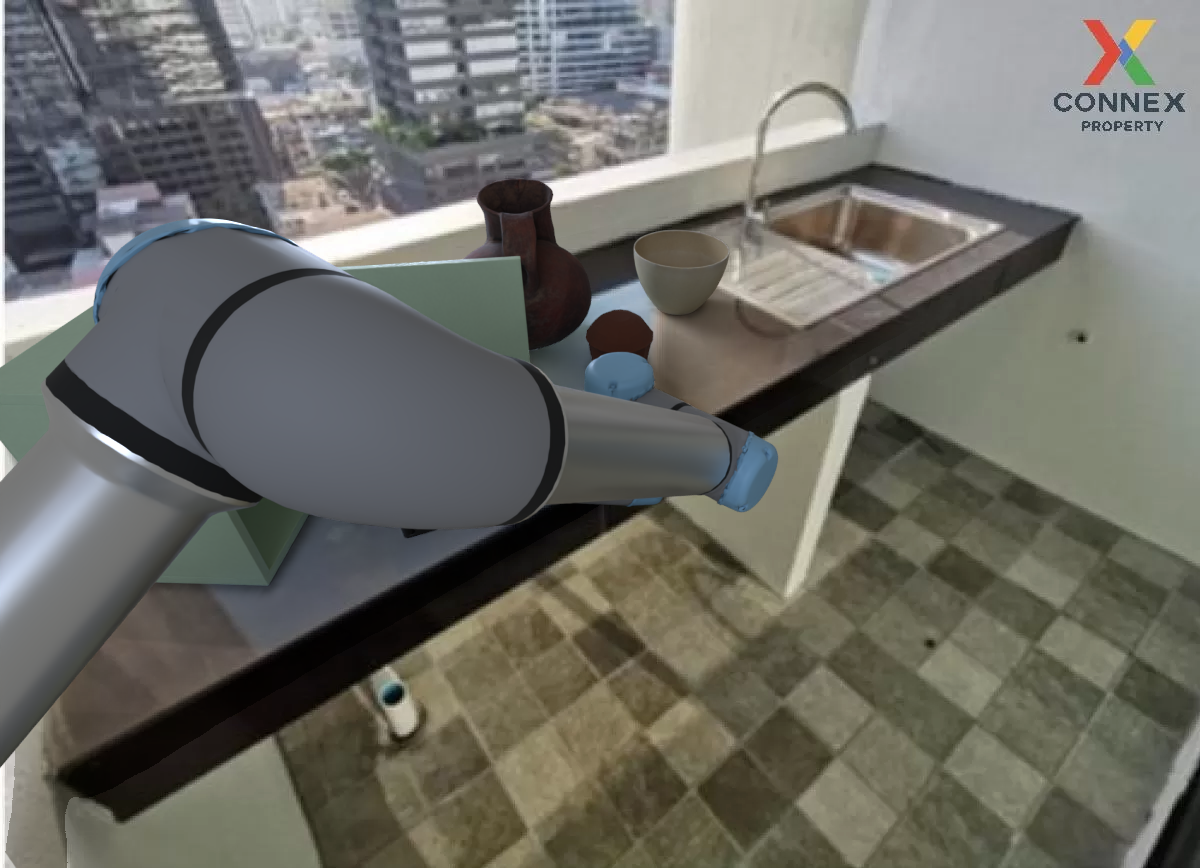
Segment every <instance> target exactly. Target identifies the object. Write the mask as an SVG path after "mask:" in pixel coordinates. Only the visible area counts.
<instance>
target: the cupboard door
mask: <svg viewBox="0 0 1200 868" xmlns="http://www.w3.org/2000/svg"><path fill="white" fill-rule="evenodd" d="M337 267H338V268H339V269H341V270H343V271H345V272H346V273H348V274H350V275H352V276H354V277H355V278H357V279H359V280H361V281H363V282H366V283H368V284H370V285H372V286H374V287H376V288H378V289H380V290H382V291H384V292H386V293H388V294H390V295H391V296H393V297H395V298H396V299H398V300H400V301H401V302H403V303H405V304H406V305H408V306H409V307H411V308H413V309H414V310H416V311H418V312H419V313H421V314H423V315H425V316H426V317H428V318H430V319H432V320H433V321H435V322H437V323H439V324H440V325H442V326H444V327H446V328H447V329H449V330H451V331H453V332H454V333H456V334H458V335H460V336H461V337H463V338H465V339H468V340H470V341H472V342H474V343H476V344H478V345H480V346H482V347H484V348H486V349H488V350H491V351H493V352H496V353H499V354H502V355H506V356H510V357H514V358H517V359H521V360H524V361H526V362H529V363H531V356H530V355H531V354H530V350H529V345H528V334H527V324H526V313H525V303H524V292H523V282H522V271H521V260H520V256H511V257H495V258H479V259H464V258H462V259H449V260H448V259H447V260H433V261H432V260H431V261H416V262H415V261H414V262H399V263H384V264H366V265H349V266H337Z"/></svg>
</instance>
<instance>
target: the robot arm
mask: <svg viewBox="0 0 1200 868" xmlns="http://www.w3.org/2000/svg"><path fill="white" fill-rule="evenodd" d="M338 267H339V266H337V265H335V264H333V263H330V262H329V261H327V260H325V259H323V258H321V257H319V256H318V255H316V254H314V253H312V252H310V250H309V251H308V250H307V249H306V248H303V247H302V246H300V245H299V244H297V243H296V242H295V241H293V240H292V239H289V238H287V237H285V236H281V235H279V234H278V233H275V232H274V231H271V230H268V229H264V228H261V227H255V226H251V225H248V224H243V223H240V222H237V221H231V220H226V219H218V218H186V219H180V220H175V221H171V222H166V223H164V224H160V225H158V226H157V225H156V226H155V227H153V228H150V229H147V230H146V231H143V232H141V233H140V234H137V236H135V237H133V238H132V239H130V240H129V241H128V242H126V243H125V244H124V245H123V246H121V247H120V248H119V249H118V250H117V251H116V252H115V253H114V254H113V256H112V257H110V259H109V261H108V262H107V263H106V265H105V266H104V268H103V270H102V272H101V274H100V276H99V278H98V280H97V283H96V287H95V290H94V299H93V304H92V306H93V319H94V322H95V326H94V327H93V328H92V329H91V330H90V332H89V333H88V334H87V335H86V336H85V337H84V338H83V339H82V340H81V341H80V342H79V343H78V344H77V345H76V346H75V347H74V348H73V350H72V351H71V352H70V353H69V354H68V355H67V356H66V357H65V358H64V360H63V361H62V362H61V363H60V364H59V365H58V366H57V367H56V368H55V369H54V370H53V371H52V372H51V373H50V374H49V375H48V376H47V378H46V379H45V380H44V381H43V382H42V383H41V391H42V394H43V398H44V402H45V405H46V409H47V413H48V416H49V429H48V431H47V432H46V433H45V434H44V435H43V436H42V437H41V438H40V439H39V441H38V442H37V443H36V444H35V445H34V446H33V447H32V448H31V449H30V450H29V451H28V452H27V453H26V455H25V456H24V457H23V458H22V459H21V460H20V461H19V462H17V463H16V464H15V465H14V466H13V467H12V468H11V469H10V471H9V472H8V473H7V474H6V475H5V476H4V477H3V478H2V479H1V480H0V769H1V768H2V767H3V766H4V764H5V763H7V761H8V760H9V758H10V757H11V756H12V755H13V753H14V752H15V751H16V750H17V749H18V747H19V746H20V745H21V744H22V743H23V741H24V740H25V739H26V738H27V737H28V736H29V734H30V733H31V732H32V731H33V729H35V728H36V726H37V725H38V724H39V722H40V721H41V720H42V719H43V718H44V716H45V715H46V714H47V713H48V711H49V710H50V709H51V708H52V707H53V706H54V704H55V703H56V702H57V701H58V700H59V698H60V697H61V696H62V695H63V694H64V692H65V691H66V690H67V689H68V688H69V687H70V685H72V683H73V682H74V681H75V679H76V678H77V677H78V676H79V675H80V673H81V672H82V671H83V670H84V669H85V667H86V666H87V665H88V663H89V662H91V660H92V659H93V658H94V656H96V654H97V653H98V652H99V650H100V649H101V648H102V647H103V646H104V645H105V643H106V642H107V641H108V640H109V639H110V638H111V636H113V634H114V633H115V632H116V630H117V629H118V628H119V627H120V626H121V624H122V623H123V622H124V621H125V619H127V618H128V616H129V615H130V613H131V612H132V611H133V610H134V609H135V608H136V606H137V605H138V604H139V603H140V602H141V601H142V599H143V598H144V597H145V596H146V594H147V593H148V592H149V591H150V590H151V588H152V587H153V586H154V585H155V584H156V583H157V582H156V581H157V580H158V579H159V577H160V576H161V575H162V574H163V573H164V571H165V570H166V569H167V568H168V567H169V565H170V564H171V563H172V562H173V561H174V559H175V558H176V557H177V556H178V555H179V554H180V552H181V551H182V550H183V549H184V548H185V546H186V545H187V544H188V543H189V542H190V540H191V539H192V538H193V537H194V536H195V534H196V533H197V532H198V531H199V530H200V528H201V527H202V526H203V525H204V524H205V522H206V521H207V520H208V519H209V518H210V517H211V516H213V515H215V514H217V513H220V512H226V511H232V510H238V509H244V508H249V507H253V506H256V505H257V504H258V503H259V502H260V501H261V499H262V498H263V497H265V498H267V499H269V500H271V501H273V502H275V503H277V504H279V505H281V506H283V507H286V508H290V509H293V510H297V511H300V512H304V513H307V514H309V515H310V516H315V517H318V518H320V519H321V518H322V519H328V520H333V521H338V522H343V523H348V524H354V525H355V524H356V525H362V526H363V525H364V526H373V527H381V528H391V529H401V532H402V535H403V538H404V539H406V540H407V539H412V538H415V537H420V536H423V535H426V534H428V533H431V532H435V531H438V530H453V531H455V530H475V529H484V528H485V529H486V528H493V527H503V526H505V527H506V526H511V525H516V524H518V523H521V522H524V521H525V520H528V519H530V518H531V517H532V516H534V515H536V514H537V513H538V512H539V511H540V510H541V509H542V508H543V507H544V506H547V505H548V506H549V505H560V504H561V505H562V504H578V505H579V504H580V505H581V504H582V505H604V506H625V507H632V506H633V507H634V506H652V505H653V506H654V505H657V504H659V503H660V502H661V501H662V500H663V498H674V497H675V498H676V497H689V496H704V497H705V496H706V497H708V498H709V499H711V500H713V501H714V502H716V504H717V505H719V506H724V507H726V508H728V509H731V510H732V511H734V512H737V513H746V512H749V511H750V510H752V509H753V508H754V507H756V505H758V504H759V502H760V501H761V500H762V499H763V497H764V495H765V494H766V492H767V491H768V489H769V487H770V485H771V484H772V481H773V479H774V476H775V475H776V471H777V468H778V463H779V453H778V451H777V448H776V446H775V445H774V444H773V443H771V442H769V441H768V440H765V439H764V438H762V437H760V436H758V435H756V434H755V433H754V432H752V431H751V430H749V431H748V430H745V429H743V428H742V427H739V426H736V425H734V424H732V423H730V422H728V421H726V420H723V419H722V418H719V417H717V416H715V415H712V414H710V413H708V412H706V411H704V410H702V409H700V408H697V407H695V406H693V405H692V404H689V403H687V402H686V401H684V400H682V399H679V398H678V397H675V396H673V395H671V394H669V393H667V392H665V391H662V390H660V389H658V388H656V387H655V382H656V379H655V375H654V369H653V366H652V365H651V364H649V361H648V359H647V360H646V359H645V358H643V357H641V356H639V355H636V354H633V353H628V352H613V353H607V354H604V355H601V356H600V357H598V358H597V359H595V360H593V361H592V360H591V361H590V363H589V364H588V365H587V367H586V369H585V370H584V371H585V372H584V383H583V390H581V389H577V388H572V387H568V386H561V385H557V384H554V382H553V381H552V380H551V379H550V377H549V376H548V375H547V374H546V373H545V372H544V371H543V370H542V369H541V368H539V367H537V366H536V365H535V364H533V363H531V362H530V363H529V362H526V361H524V360H521V359H517V358H514V357H510V356H506V355H502V354H499V353H496V352H493V351H491V350H488V349H486V348H484V347H482V346H480V345H478V344H476V343H474V342H472V341H470V340H468V339H465V338H463V337H461V336H460V335H458V334H456V333H454V332H453V331H451V330H449V329H447V328H446V327H444V326H442V325H440V324H439V323H437V322H435V321H433V320H432V319H430V318H428V317H426V316H425V315H423V314H421V313H419V312H418V311H416V310H414V309H413V308H411V307H409V306H408V305H406V304H405V303H403V302H401V301H400V300H398V299H396V298H395V297H393V296H391V295H390V294H388V293H386V292H384V291H382V290H380V289H378V288H376V287H374V286H372V285H370V284H368V283H366V282H363V281H361V280H359V279H357V278H355V277H354V276H352V275H350V274H348V273H346V272H345V271H343V270H341V269H339V268H338Z"/></svg>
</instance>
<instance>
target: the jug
mask: <svg viewBox="0 0 1200 868" xmlns="http://www.w3.org/2000/svg"><path fill="white" fill-rule="evenodd" d="M475 198H476V203H477V205H478V206H479V207H480V209H481V211H482V213H483V217H484V224H485V233H486V240H485V242H484V243H483V244H482V245H481V246H478V247H477V248H476V249H474V250H472V251H471V252H470V253H469V254H467V255H466V256H464V257H463V259H479V258H495V257H511V256H520V260H521V271H522V282H523V292H524V303H525V313H526V324H527V334H528V345H529V351H533V350H534V351H535V350H539V349H544V348H548V347H550V346H553V345H555V344H558V343H560V342H561V341H563V340H565V339H566V338H567V337H570V335H572V334H573V333H575V331H577V330H578V329H579V328H580V326H581V325H582V324H583V323H584V321H585V320H586V318H587V316H588V314H589V311H590V309H591V305H592V289H591V283H590V279H589V275H588V274H587V271H586V269H585V267H584V266H583V264H582V263H581V261H579V259H578V257H576V256H575V255H574V254H573V253H572V252H570V251H568V250H567V249H565V248H564V247H562V246H560V245H559V244H558V243H557V239H556V233H555V226H554V223H553V219H552V212H551V211H552V210H551V206H552V201H553V198H554V192H553V189H552V188H551V187H550V186H549V185H548V184H546V183H545V182H542V181H541V180H537V179H526V178H525V179H524V178H507V179H501V180H495V181H492V182H490V183H488V184H487V185H485V186H483V187H482V188H481V189H479V190H478V191H477V193H476V197H475Z"/></svg>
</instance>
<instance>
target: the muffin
mask: <svg viewBox="0 0 1200 868" xmlns="http://www.w3.org/2000/svg"><path fill="white" fill-rule="evenodd" d="M584 339H585V340H586V342H587V343H588V349H589V354H590V359H591V362H592V361H593V360H595V359H597V358H598V357H600V356H601V355H604V354H607V353H613V352H628V353H633V354H636V355H639V356H641V357H643V358H645V359H646V360H647V361H648V359H649V355H650V354H649V353H650V350H651V345H652V343H653V341H654V331H653V329H651V326H649V324H648V323H647V322H646V321H645V320H644V318H643V317H642V316H641V315H639V314H637V313H635V312H633V311H631V310H627V309H622V308H620V309H611V310H609V311H607V312H604V313H602V314H600V315H599V316H598V317H597V318H596V319H594V321H593V322H592V323H591V324H590V325H589V327H588V328H587V329H586V332H585V338H584Z"/></svg>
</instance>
